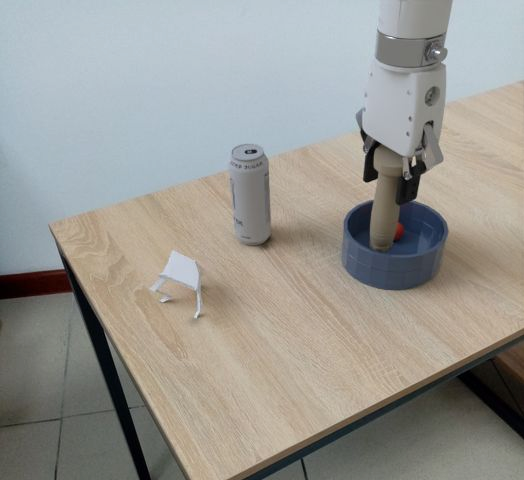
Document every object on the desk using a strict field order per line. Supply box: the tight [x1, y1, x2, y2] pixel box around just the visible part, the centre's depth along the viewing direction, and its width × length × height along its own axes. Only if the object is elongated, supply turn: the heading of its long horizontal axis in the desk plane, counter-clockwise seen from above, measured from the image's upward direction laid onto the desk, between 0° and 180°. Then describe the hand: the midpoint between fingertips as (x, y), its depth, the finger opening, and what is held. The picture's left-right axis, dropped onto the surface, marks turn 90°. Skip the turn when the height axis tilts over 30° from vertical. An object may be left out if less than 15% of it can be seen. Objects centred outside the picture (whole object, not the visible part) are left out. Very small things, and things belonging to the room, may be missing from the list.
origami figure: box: [148, 248, 205, 319], centre depth 77 cm, size 12×8×5 cm
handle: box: [370, 144, 414, 254], centre depth 74 cm, size 5×6×15 cm
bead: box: [393, 222, 404, 241], centre depth 84 cm, size 3×3×3 cm
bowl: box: [340, 199, 450, 291], centre depth 81 cm, size 15×15×6 cm
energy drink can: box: [227, 143, 272, 246], centre depth 83 cm, size 6×6×15 cm
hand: (389, 189), depth 72 cm, fingers closed on handle, 6 cm apart
